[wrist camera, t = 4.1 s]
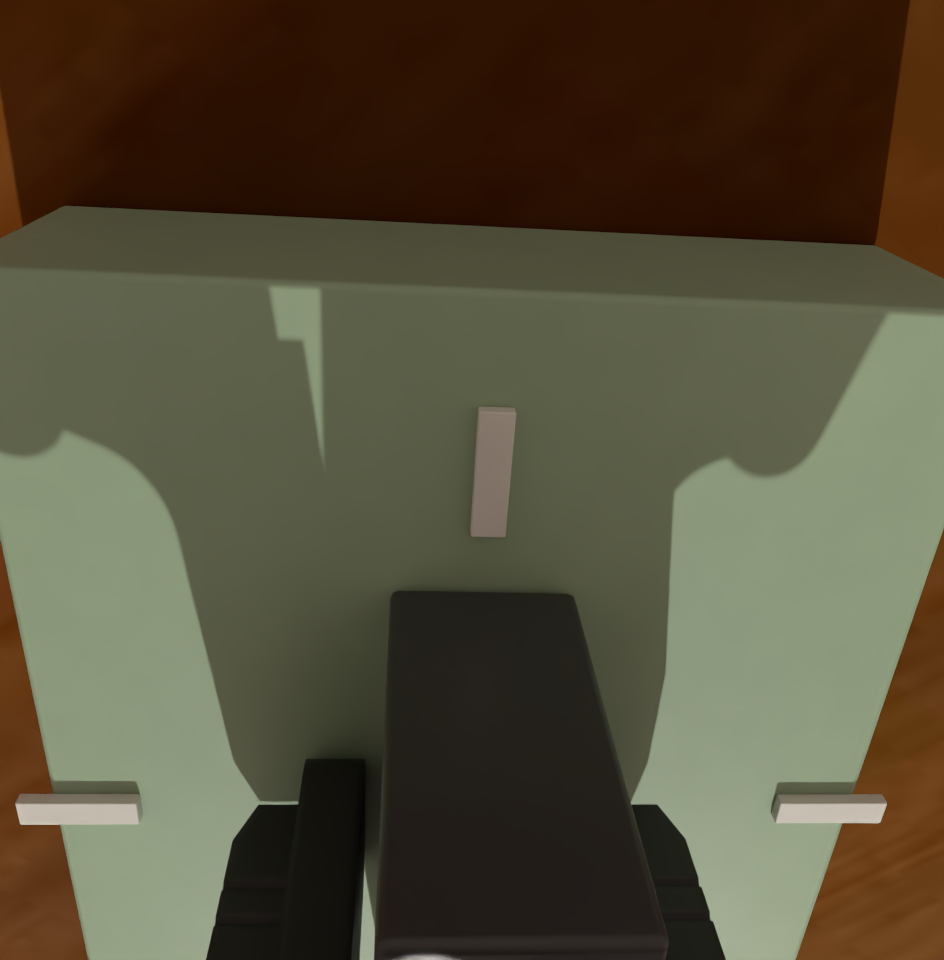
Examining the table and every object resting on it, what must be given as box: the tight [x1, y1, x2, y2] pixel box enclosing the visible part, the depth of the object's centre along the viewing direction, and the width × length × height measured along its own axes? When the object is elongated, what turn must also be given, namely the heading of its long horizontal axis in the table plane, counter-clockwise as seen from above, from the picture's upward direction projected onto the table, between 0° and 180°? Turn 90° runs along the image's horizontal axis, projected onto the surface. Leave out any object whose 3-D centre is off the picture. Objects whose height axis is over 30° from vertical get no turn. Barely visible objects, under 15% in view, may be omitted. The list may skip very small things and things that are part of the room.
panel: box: [0, 206, 944, 960], centre depth 12 cm, size 13×11×3 cm
